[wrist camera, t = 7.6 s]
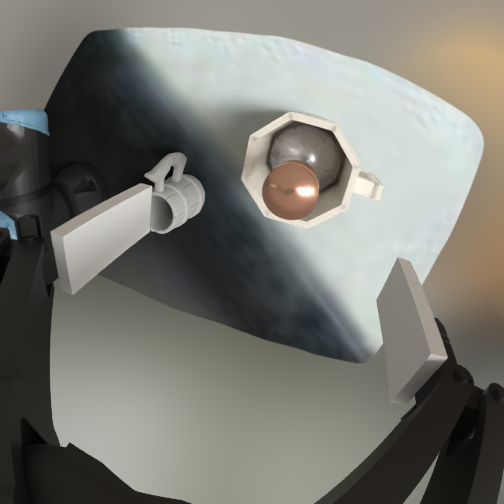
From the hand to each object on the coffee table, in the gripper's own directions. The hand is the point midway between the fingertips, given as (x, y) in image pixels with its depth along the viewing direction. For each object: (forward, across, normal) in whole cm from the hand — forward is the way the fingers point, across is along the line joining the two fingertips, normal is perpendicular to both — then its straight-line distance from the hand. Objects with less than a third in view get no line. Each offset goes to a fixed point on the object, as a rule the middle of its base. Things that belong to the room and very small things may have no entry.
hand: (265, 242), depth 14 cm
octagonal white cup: (+31, +2, 0) cm, 31 cm away
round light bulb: (+27, 0, 0) cm, 27 cm away
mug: (+31, -18, -9) cm, 37 cm away
